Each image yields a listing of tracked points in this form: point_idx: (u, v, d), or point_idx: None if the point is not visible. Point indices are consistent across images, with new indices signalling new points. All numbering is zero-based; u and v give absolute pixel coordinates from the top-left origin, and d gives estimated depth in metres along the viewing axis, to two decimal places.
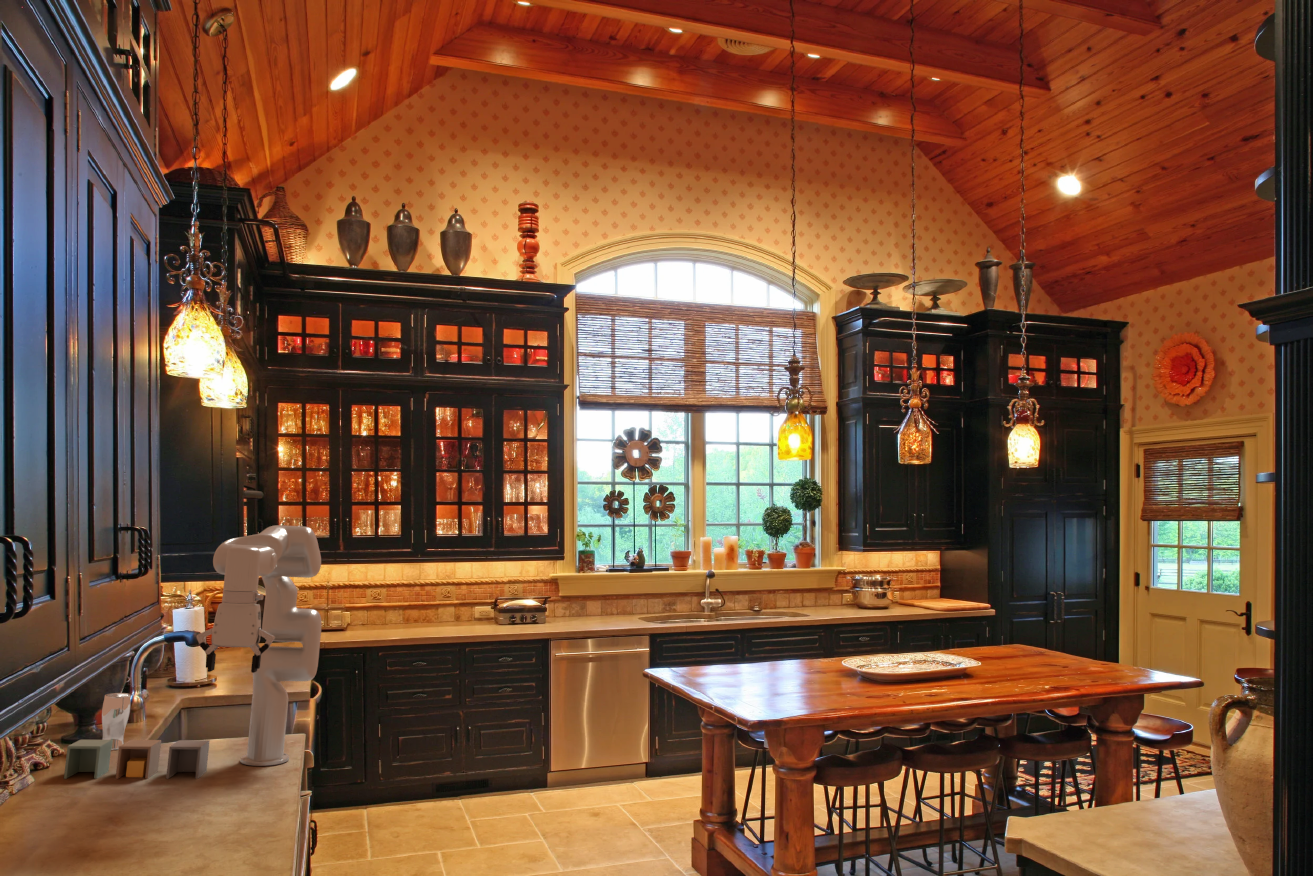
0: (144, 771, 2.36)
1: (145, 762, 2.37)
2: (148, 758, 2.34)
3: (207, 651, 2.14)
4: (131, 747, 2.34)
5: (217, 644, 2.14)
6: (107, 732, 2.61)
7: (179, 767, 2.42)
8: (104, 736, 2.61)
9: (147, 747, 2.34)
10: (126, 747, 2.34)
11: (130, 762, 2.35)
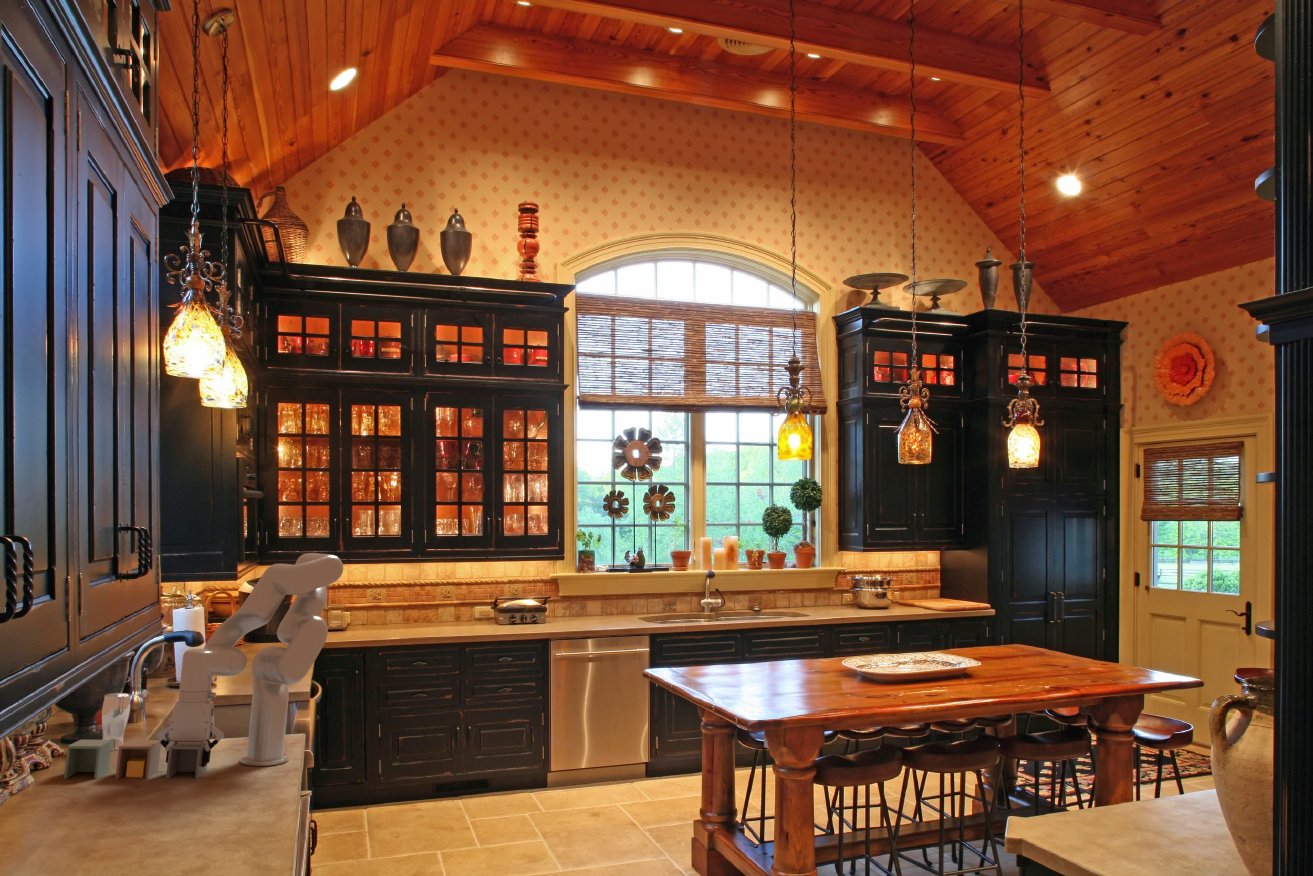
0: (144, 771, 2.36)
1: (145, 762, 2.37)
2: (148, 758, 2.34)
3: (166, 748, 2.38)
4: (131, 747, 2.34)
5: (173, 740, 2.37)
6: (107, 732, 2.61)
7: (179, 767, 2.42)
8: (104, 736, 2.61)
9: (147, 747, 2.34)
10: (126, 747, 2.34)
11: (130, 762, 2.35)
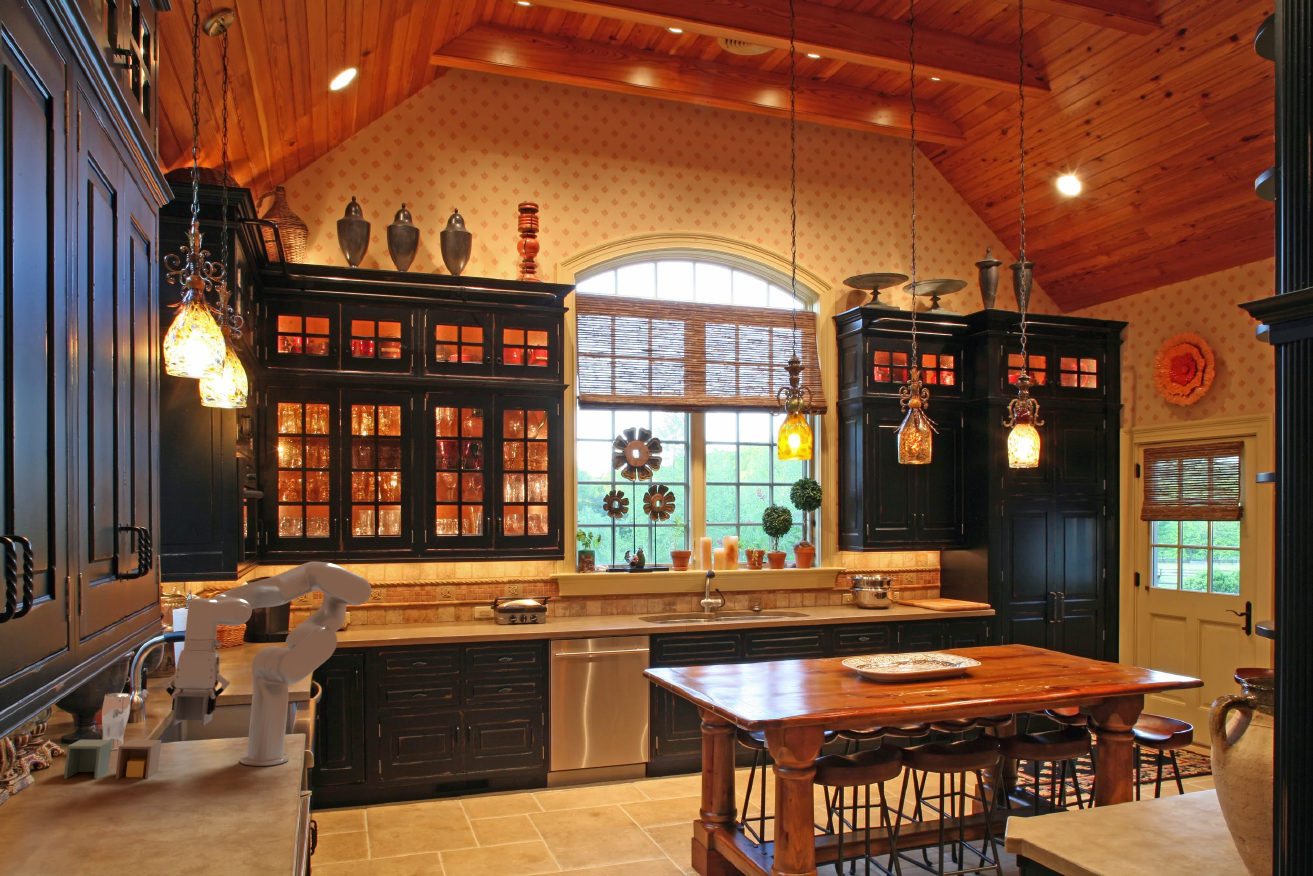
0: (144, 771, 2.36)
1: (145, 762, 2.37)
2: (148, 758, 2.34)
3: (172, 695, 2.39)
4: (131, 747, 2.34)
5: (179, 687, 2.39)
6: (107, 732, 2.61)
7: (185, 715, 2.43)
8: (104, 736, 2.61)
9: (147, 747, 2.34)
10: (126, 747, 2.34)
11: (130, 762, 2.35)
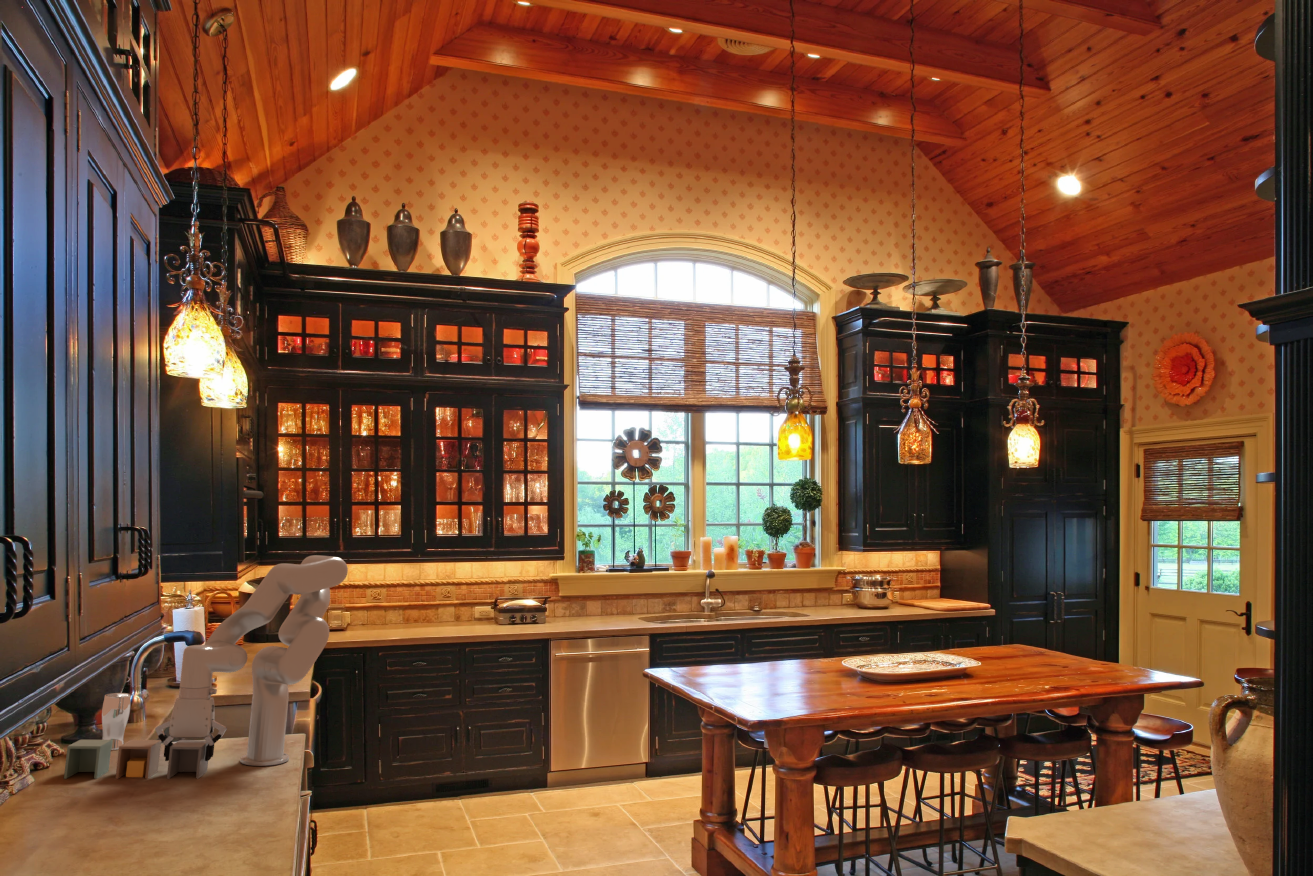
0: (144, 771, 2.36)
1: (145, 762, 2.37)
2: (148, 758, 2.34)
3: (164, 742, 2.38)
4: (131, 747, 2.34)
5: (174, 736, 2.38)
6: (107, 732, 2.61)
7: (180, 767, 2.42)
8: (104, 736, 2.61)
9: (147, 747, 2.34)
10: (126, 747, 2.34)
11: (130, 762, 2.35)
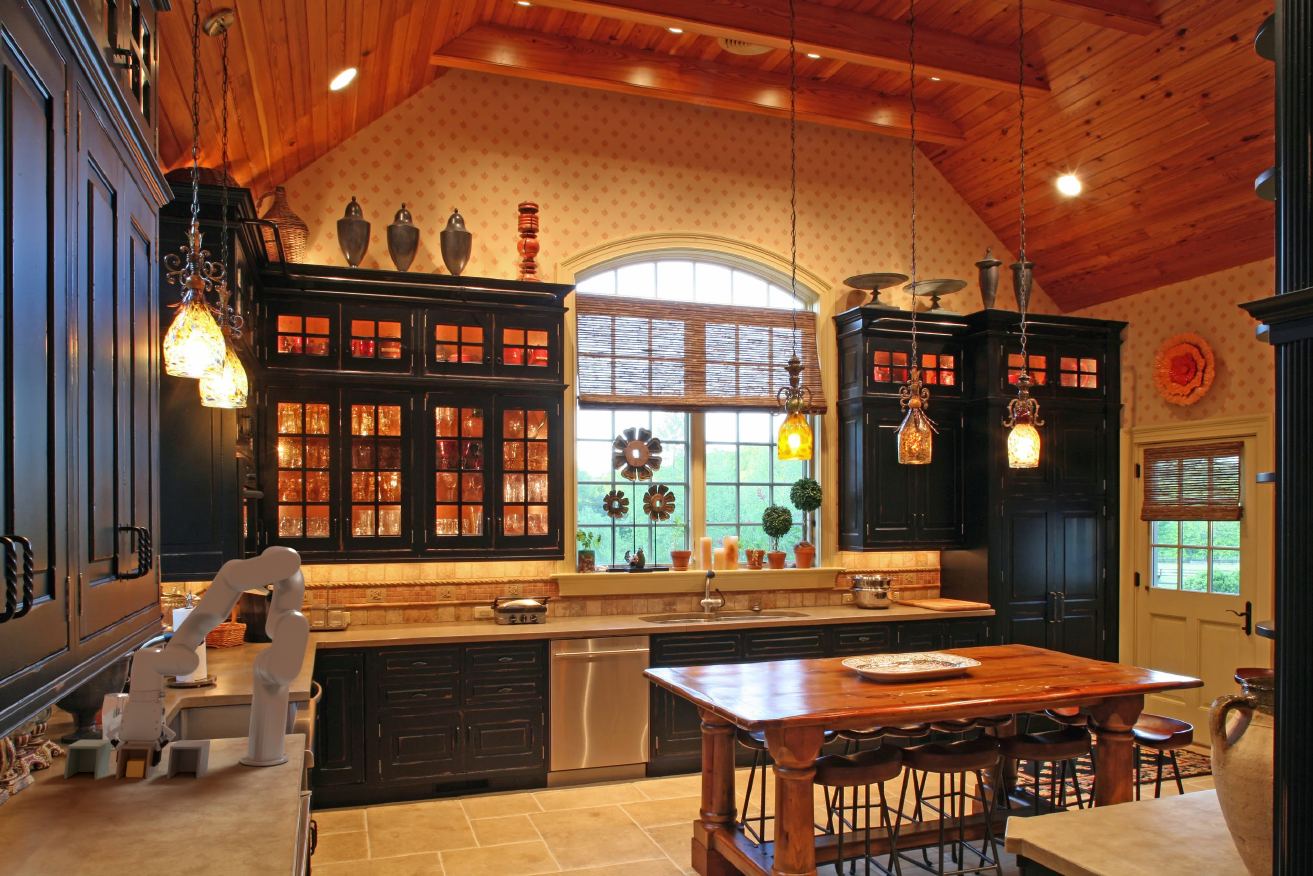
0: (144, 771, 2.36)
1: (145, 762, 2.37)
2: (148, 758, 2.34)
3: (117, 747, 2.36)
4: (131, 747, 2.34)
5: (123, 739, 2.35)
6: (107, 732, 2.61)
7: (180, 767, 2.42)
8: (104, 736, 2.61)
9: (147, 747, 2.35)
10: (126, 747, 2.34)
11: (130, 762, 2.35)
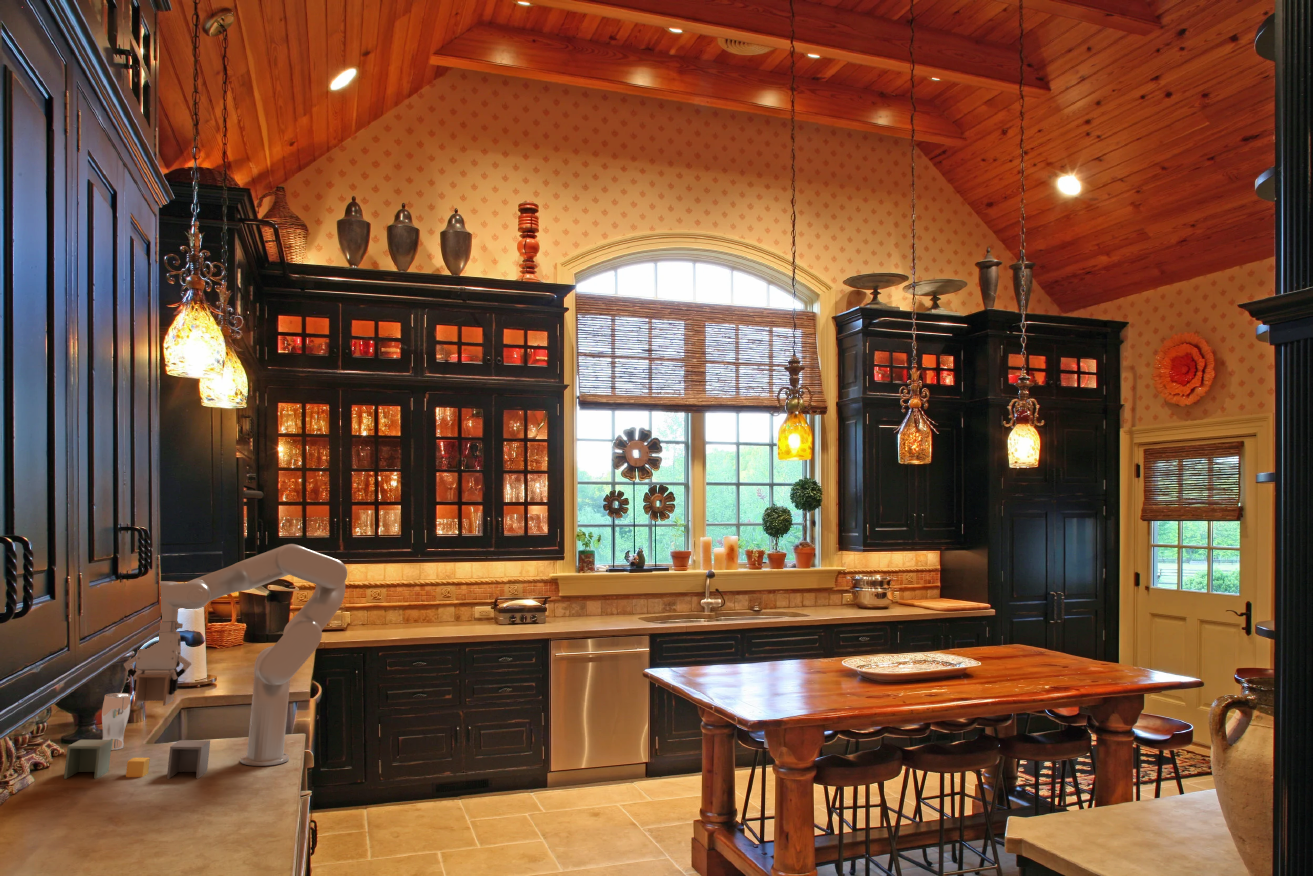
0: (144, 771, 2.36)
1: (145, 762, 2.37)
2: (165, 686, 2.43)
3: (134, 676, 2.44)
4: (149, 675, 2.42)
5: (141, 668, 2.43)
6: (107, 732, 2.61)
7: (180, 767, 2.42)
8: (104, 736, 2.61)
9: (164, 675, 2.43)
10: (144, 675, 2.42)
11: (130, 762, 2.35)
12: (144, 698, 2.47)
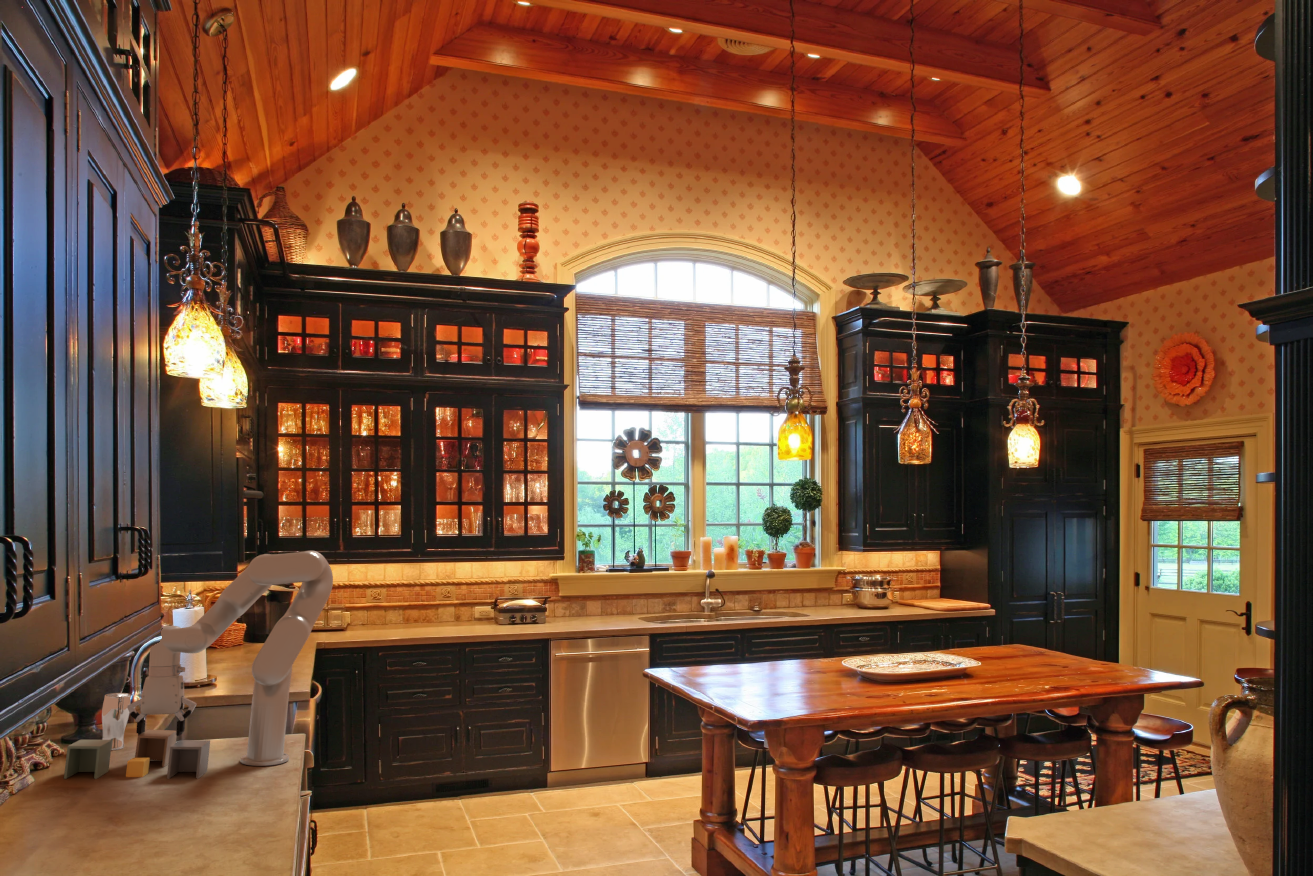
0: (144, 771, 2.36)
1: (145, 762, 2.37)
2: (165, 747, 2.46)
3: (136, 719, 2.48)
4: (149, 736, 2.46)
5: (145, 713, 2.48)
6: (107, 732, 2.61)
7: (180, 767, 2.42)
8: (104, 736, 2.61)
9: (164, 737, 2.46)
10: (144, 736, 2.45)
11: (130, 762, 2.35)
12: (144, 757, 2.50)
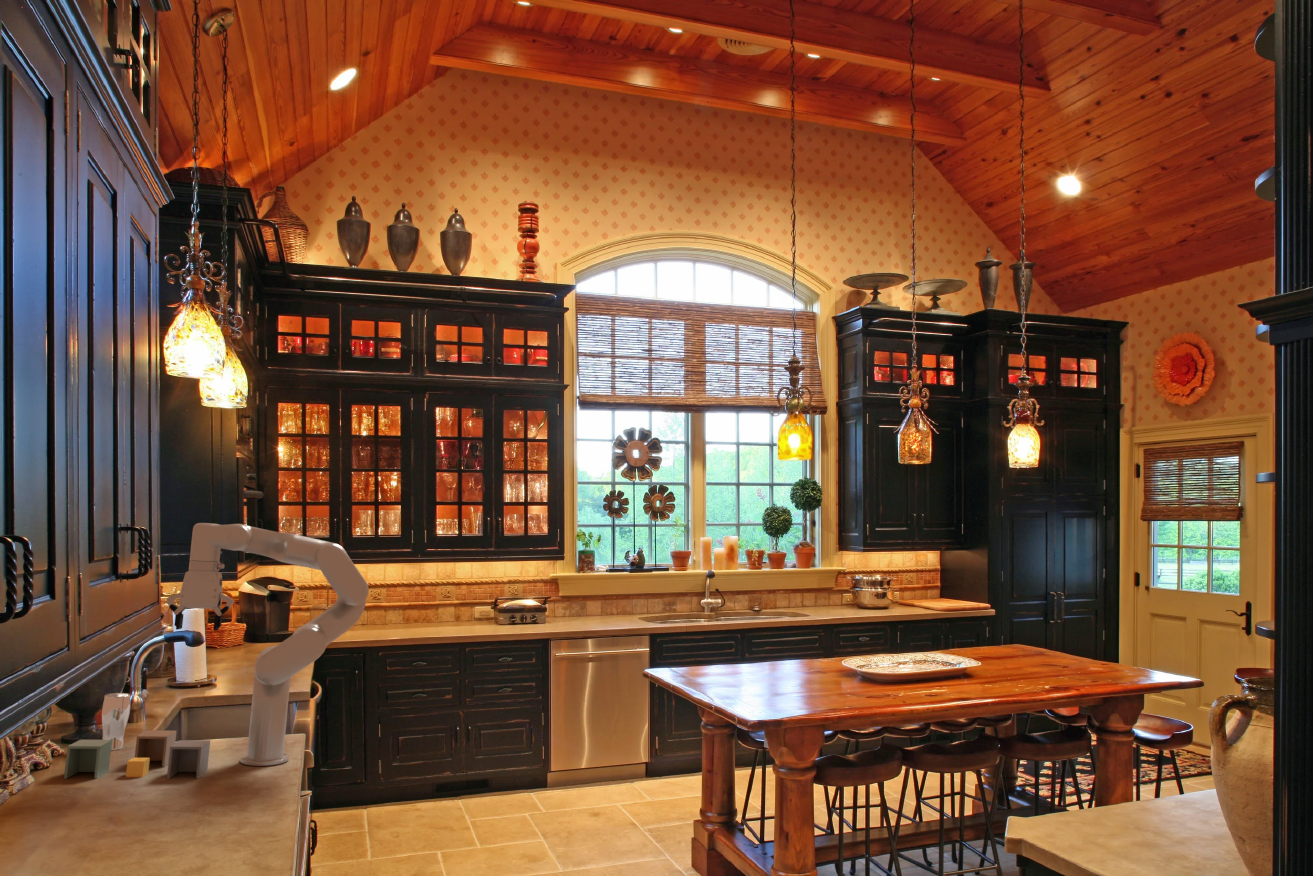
0: (144, 771, 2.36)
1: (145, 762, 2.37)
2: (164, 747, 2.46)
3: (175, 611, 2.51)
4: (148, 737, 2.46)
5: (184, 606, 2.51)
6: (107, 732, 2.61)
7: (180, 767, 2.42)
8: (104, 736, 2.61)
9: (163, 737, 2.46)
10: (143, 737, 2.45)
11: (130, 762, 2.35)
12: None
